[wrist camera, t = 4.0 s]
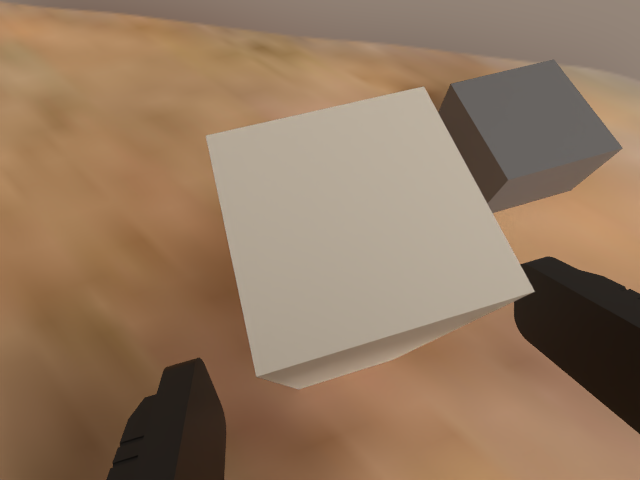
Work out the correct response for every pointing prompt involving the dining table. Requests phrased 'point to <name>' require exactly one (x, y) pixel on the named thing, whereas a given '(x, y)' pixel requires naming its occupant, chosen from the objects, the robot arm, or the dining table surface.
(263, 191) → the tall cream block
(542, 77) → the grey squat block
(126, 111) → the dining table surface
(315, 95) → the dining table surface
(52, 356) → the dining table surface
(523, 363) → the dining table surface
